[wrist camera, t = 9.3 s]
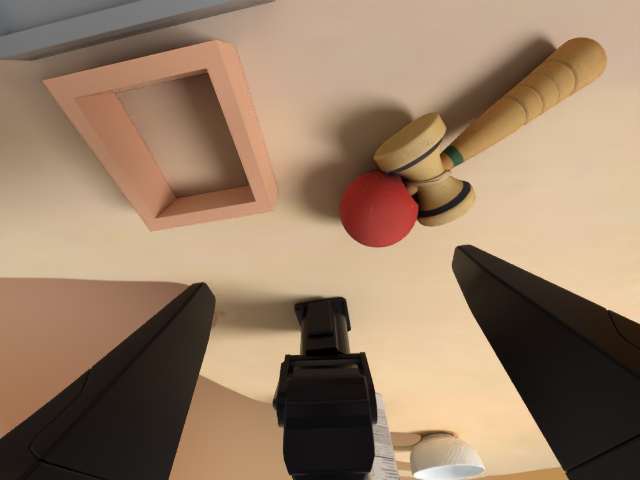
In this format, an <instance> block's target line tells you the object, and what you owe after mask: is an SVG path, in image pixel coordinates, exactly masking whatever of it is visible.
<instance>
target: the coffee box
mask: <svg viewBox="0 0 640 480" xmlns="http://www.w3.org/2000/svg"><path fill="white" fill-rule="evenodd" d="M375 394H376V401H377V414H378V419H377V424H372V426H373V435H374V445H375V458H374V462H373V466H372V470H371V472H370V473H368V475H367V478H366V480H400V479H399V474H398V470H397V465H396V460H395V455H394V451H393V446H392V441H391V437H390V431H389V427H388V422H387V417H386V412H385V408H384V403H383V398H382V395H381V394H377V393H375Z"/></svg>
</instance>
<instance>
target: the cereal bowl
mask: <svg viewBox="0 0 640 480" xmlns="http://www.w3.org/2000/svg"><path fill="white" fill-rule="evenodd" d="M410 464H411V470H412V474H413V476H414V477H415V478H419V479H425V480H457V479H464V478H470V477H474V476H477V475H480V474H482V473H483V472H484V471H485V468H484V466H483V463H482V461H481V459H480V457H479V455H478V454H477V452H476V451H475V449H474V448H473V447H472V446H471V445H469V444H468V443H467V442H465V441H463V440H460V439H457V438H454V437H453V436H452V435H450V434H446V433H438V434H431V435H427V436H425V437H423V438H422V440H421V442H419V443H417V444H416V445H415V446H414V447H413V449H412V451H411V455H410Z"/></svg>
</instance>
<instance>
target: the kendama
mask: <svg viewBox="0 0 640 480" xmlns="http://www.w3.org/2000/svg"><path fill="white" fill-rule="evenodd" d="M606 64H607V56H606V52H605V50H604V48H603V47H602V46H601V45H600V44H599V43H598V42H596V41H594V40H593V39H589V38H574V39H571V40H569V41H567V42H565V43H564V44H563V45H562V46H560V47H559V48H558V49H557V50H556V51H555V52H554V53H553V54H551V55H550V56H549V57H548V58H547V59H546V60H545V61H544V62H543V63H541V65H539V66H538V67H537V68H536V69H534V70H533V71H532V72H531V73H530V74H529V75H528V76H527V77H526V78H524V79H523V80H522V81H521V82H519V83H518V84H517V85H516V86H515V87H514V88H513V89H511V90H510V91H509V92H508V93H506V94H505V95H504V96H503V97H502V98H501V99H500V100H498V101H497V102H496V103H495V104H493V105H492V106H491V107H490V108H489V109H488V110H486V111H485V112H484V113H483V114H482V115H481V116H479V117H478V118H477V119H476V120H475V121H474V122H473V123H472V124H471V125H470V126H468V127H467V128H466V129H465V130H464V131H463V132H462V133H461V134H460V135H459V136H458V137H457V138H456V139H455V140H454V141H453V142H452V143H451V144H450V145H449V146H448V147H447V148H446V149H445V150H444V151H443V152H442V153H441V154H440V146H441V142H442V139H443V136H444V134H445V132H446V127H445V124H444V123H443V121H442V119H441V117H440V116H439V114H438V113H437V112H434V113H429V114H426V115H424V116H421V117H420V118H418V119H416V120H414V121H412V122H411V123H409V124H408V125H406V126H405V127H403V128H402V129H401V130H400V131H399V132H398V133H396V134H395V135H393V136H392V137H390V138H388V139H387V140H386V141H385V142H384V143H383V144H382V145H381V146H380V147H379V148H378V149H377V151H376V152H375V154H374V160H375V161H376V163H377V165H378V166H379V168H380V171H372V172H368V173H365V174H363V175H361V176H359V177H357V178H356V179H355V180H354V181H352V182H351V183H350V185H349V186H348V187H347V188H346V190H345V191H344V193H343V196H342V198H341V202H340V208H339V209H340V217H341V221H342V224H343V226H344V228H345V230H346V231H347V233H348V234H349V235H350V236H351V237H352V238H353V239H354V240H356V241H357V242H359V243H361V244H363V245H365V246H369V247H386V246H390V245H393V244H395V243H397V242H399V241H400V240H402V239H403V238H404V237H405V236H406V235H407V234H408V233H409V232H410V231H411V229H412V228H413V226H414V224H415V222H416V219H417V220H418V222H419V223H420V224H422V225H424V226H429V227H433V226H439V225H443V224H446V223H449V222H451V221H454V220H456V219H458V218H459V217H461V216H463V215H464V214H465V213H466V212H467V211H469V210H470V209H471V207H472V206H473V205H474V203H475V199H476V196H475V193H474V190H473V187H472V185H471V184H470V183H468V182H466V181H461V180H458V179H455V178H453V177H452V176H450V175H451V171H450V169H452V168H453V167H455V166H457V165H459V164H461V163H463V162H464V161H466V160H468V159H470V158H472V157H473V156H475V155H477V154H479V153H481V152H482V151H484V150H486V149H488V148H489V147H491V146H493V145H494V144H496V143H498V142H499V141H501V140H502V139H504V138H506V137H507V136H509V135H510V134H512V133H513V132H515V131H517V130H518V129H519V128H521V127H522V126H523V125H525V124H527V123H529V122H530V121H532V120H533V119H535V118H536V117H537V116H539V115H541V114H542V113H544V112H546V111H547V110H549V109H550V108H551V107H553V106H555V105H556V104H558V103H560V102H561V101H563V100H564V99H565V98H567V97H569V96H571V95H572V94H574V93H576V92H577V91H579V90H580V89H582V88H584V87H585V86H587V85H589V84H590V83H592V82H593V81H595V80H596V79H597V78H598V77H600V75H601V74H602V73H603V71H604V70H605V68H606Z"/></svg>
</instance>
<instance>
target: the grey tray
mask: <svg viewBox="0 0 640 480" xmlns="http://www.w3.org/2000/svg"><path fill="white" fill-rule="evenodd" d="M272 1H275V0H0V59H2V60H35V59H40V58H44V57H48V56H52V55H56V54H60V53H64V52H68V51H72V50H76V49H80V48H84V47H89V46H93V45H97V44H101V43H105V42H109V41H113V40H117V39H121V38H125V37H129V36H134V35H138V34H142V33H146V32H150V31H154V30H158V29H162V28H166V27H170V26H174V25H178V24H183V23H187V22H191V21H195V20H199V19H203V18H207V17H211V16H215V15H219V14H223V13H228V12H232V11H236V10H240V9H244V8H248V7H252V6H256V5H260V4H264V3H268V2H272Z"/></svg>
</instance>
